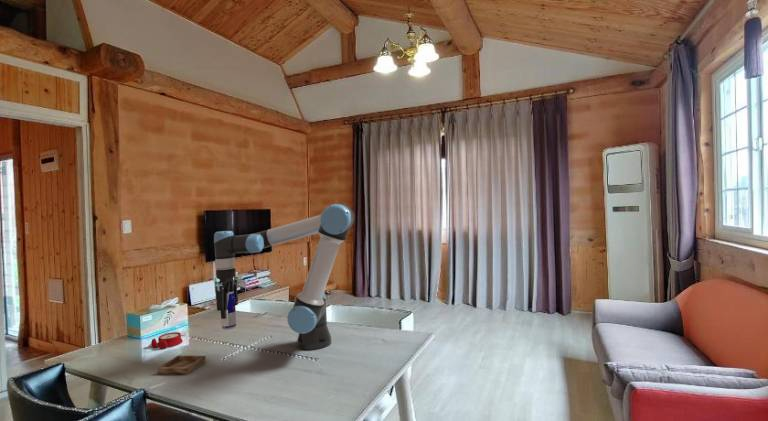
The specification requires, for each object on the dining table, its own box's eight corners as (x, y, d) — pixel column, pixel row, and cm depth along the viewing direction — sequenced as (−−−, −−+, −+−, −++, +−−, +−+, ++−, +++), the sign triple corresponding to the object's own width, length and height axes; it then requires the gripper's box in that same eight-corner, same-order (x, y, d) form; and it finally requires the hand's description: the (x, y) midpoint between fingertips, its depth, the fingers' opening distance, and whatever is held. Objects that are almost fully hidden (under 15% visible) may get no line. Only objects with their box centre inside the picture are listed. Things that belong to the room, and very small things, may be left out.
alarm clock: (189, 333, 181) (160, 336, 168) (187, 346, 180) (157, 351, 167) (174, 330, 186) (144, 333, 172) (172, 344, 184) (142, 348, 171)
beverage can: (231, 330, 155) (229, 293, 155) (219, 330, 157) (216, 293, 156) (239, 325, 161) (236, 290, 161) (227, 325, 162) (225, 290, 162)
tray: (205, 361, 155) (205, 355, 155) (187, 374, 143) (187, 368, 143) (178, 361, 156) (178, 355, 156) (157, 374, 144) (157, 368, 144)
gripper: (228, 264, 168) (231, 317, 168) (204, 272, 150) (208, 331, 150) (244, 264, 167) (247, 316, 168) (222, 271, 149) (226, 330, 149)
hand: (229, 323), depth 159 cm, fingers closed on beverage can, 5 cm apart
